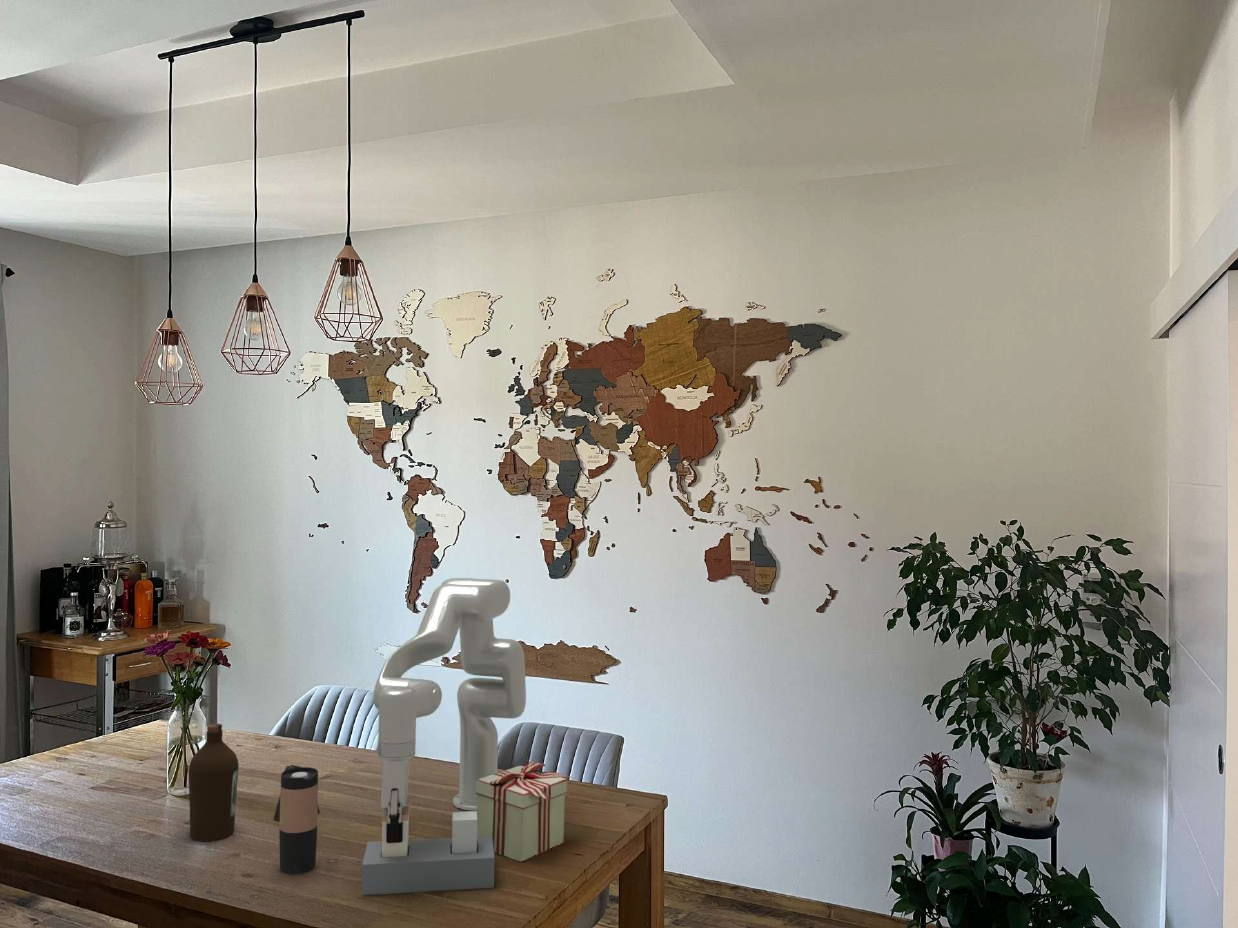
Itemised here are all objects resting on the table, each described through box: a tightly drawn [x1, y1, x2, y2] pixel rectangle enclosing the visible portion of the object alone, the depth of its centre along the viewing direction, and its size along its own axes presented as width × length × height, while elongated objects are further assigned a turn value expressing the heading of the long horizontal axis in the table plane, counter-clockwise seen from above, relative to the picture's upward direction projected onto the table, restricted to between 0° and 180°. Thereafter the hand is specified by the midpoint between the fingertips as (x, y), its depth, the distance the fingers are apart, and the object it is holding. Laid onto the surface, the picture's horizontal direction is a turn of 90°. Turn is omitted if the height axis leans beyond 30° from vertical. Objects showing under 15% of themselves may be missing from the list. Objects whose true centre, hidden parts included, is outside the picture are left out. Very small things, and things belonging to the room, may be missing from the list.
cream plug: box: [381, 805, 410, 857], centre depth 193 cm, size 5×5×12 cm
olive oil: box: [187, 723, 240, 842], centre depth 217 cm, size 11×11×25 cm
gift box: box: [476, 761, 571, 863], centre depth 213 cm, size 17×18×17 cm
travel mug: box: [278, 766, 319, 875], centre depth 199 cm, size 8×8×20 cm
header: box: [361, 810, 495, 896], centre depth 194 cm, size 26×12×13 cm, turn 100°
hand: (395, 835), depth 193 cm, fingers closed on cream plug, 5 cm apart
